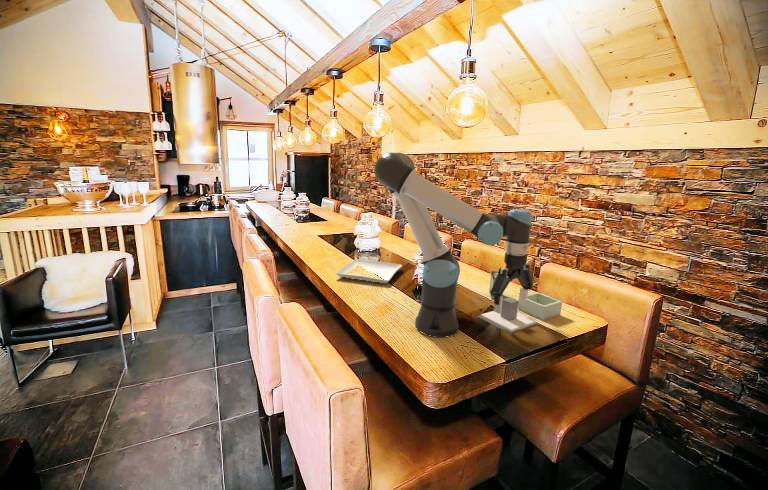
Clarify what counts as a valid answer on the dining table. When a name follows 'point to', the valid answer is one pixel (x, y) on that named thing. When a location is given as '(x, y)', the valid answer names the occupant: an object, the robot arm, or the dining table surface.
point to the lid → (509, 316)
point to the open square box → (541, 306)
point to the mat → (508, 331)
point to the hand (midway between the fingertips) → (510, 308)
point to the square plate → (375, 267)
